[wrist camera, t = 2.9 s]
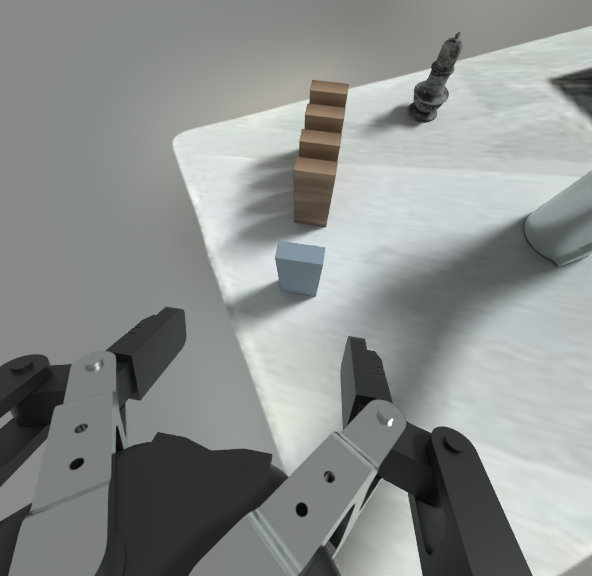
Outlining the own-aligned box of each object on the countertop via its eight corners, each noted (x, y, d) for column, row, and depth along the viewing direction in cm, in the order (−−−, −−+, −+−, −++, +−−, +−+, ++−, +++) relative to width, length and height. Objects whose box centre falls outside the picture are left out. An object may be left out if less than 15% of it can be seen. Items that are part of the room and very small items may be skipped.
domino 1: (336, 159, 46) (347, 94, 35) (307, 155, 46) (310, 90, 36) (337, 150, 47) (348, 84, 36) (308, 146, 47) (312, 79, 36)
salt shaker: (435, 100, 50) (475, 18, 39) (441, 123, 48) (485, 44, 37) (403, 100, 50) (435, 19, 39) (408, 124, 48) (443, 45, 37)
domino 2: (332, 180, 44) (343, 119, 34) (303, 176, 45) (305, 114, 34) (334, 170, 45) (345, 107, 35) (305, 166, 45) (307, 103, 35)
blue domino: (315, 296, 38) (322, 264, 27) (281, 291, 38) (274, 257, 28) (317, 283, 38) (325, 247, 28) (283, 278, 39) (278, 240, 28)
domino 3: (329, 202, 43) (340, 146, 33) (298, 198, 43) (299, 141, 33) (331, 192, 44) (341, 133, 33) (300, 188, 44) (302, 128, 34)
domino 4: (326, 226, 42) (335, 175, 31) (294, 222, 42) (293, 169, 31) (327, 215, 42) (337, 162, 32) (296, 211, 42) (296, 156, 32)
